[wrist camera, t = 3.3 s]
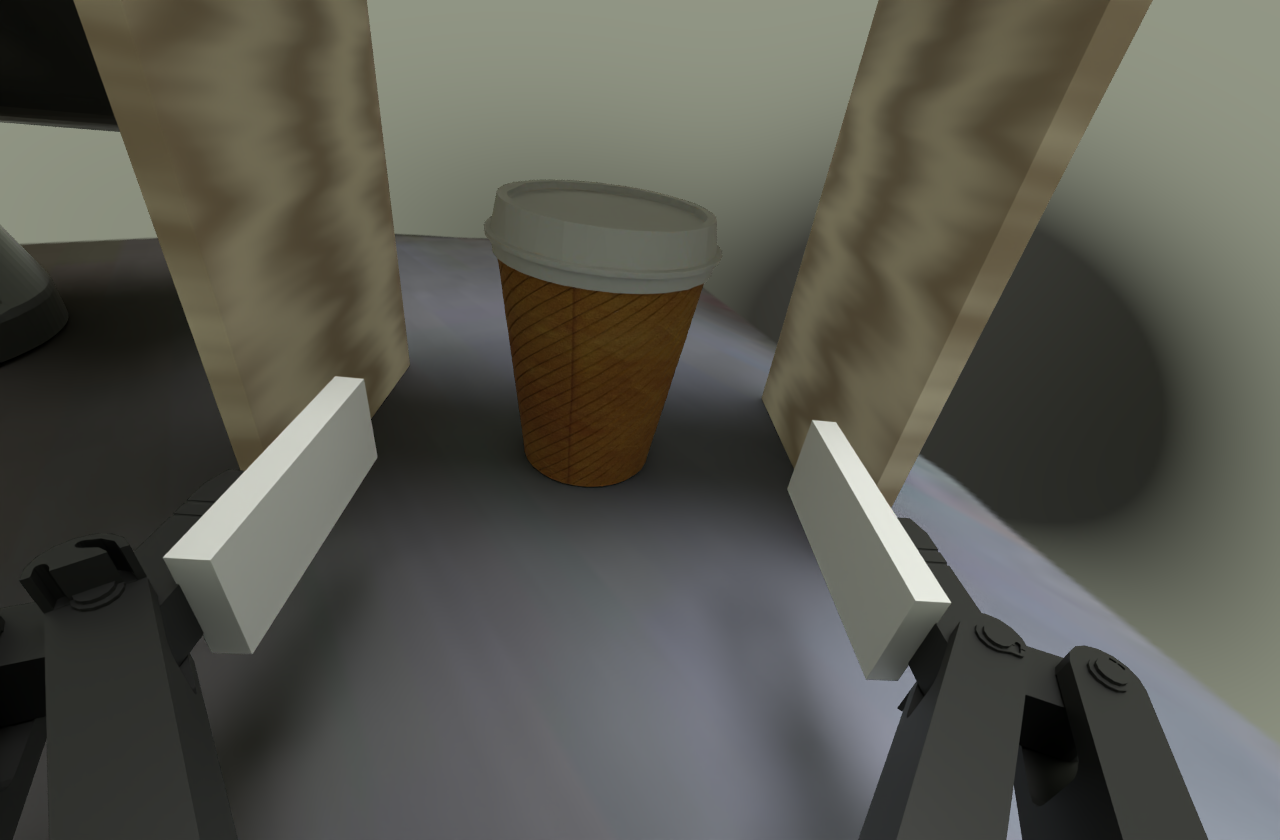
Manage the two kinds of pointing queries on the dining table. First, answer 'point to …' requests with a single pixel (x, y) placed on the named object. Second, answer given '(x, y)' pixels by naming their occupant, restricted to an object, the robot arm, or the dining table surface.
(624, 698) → the dining table surface
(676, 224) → the disposable coffee cup
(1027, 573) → the dining table surface
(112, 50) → the plywood stool
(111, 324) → the dining table surface
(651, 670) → the dining table surface
